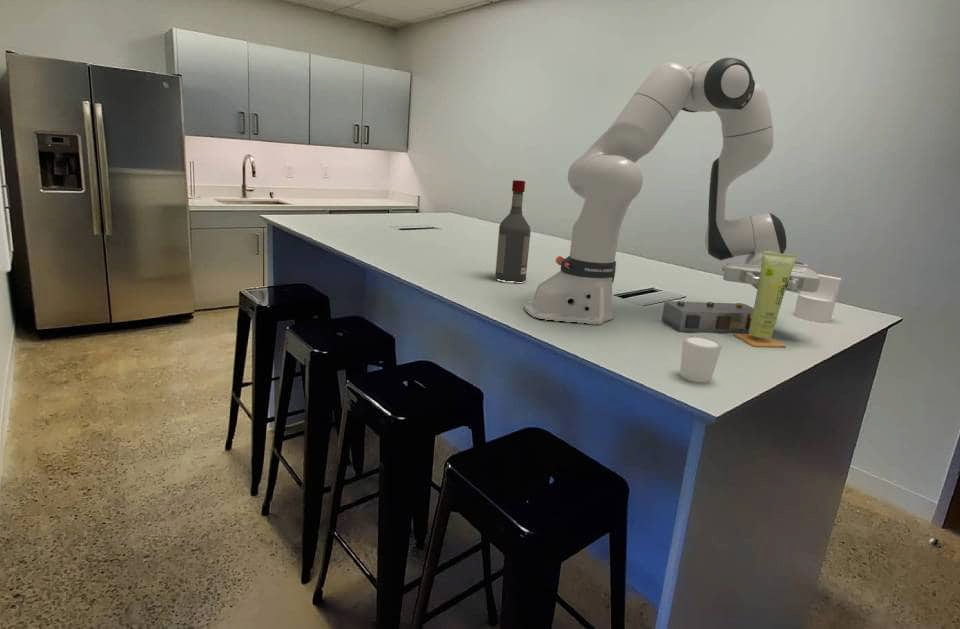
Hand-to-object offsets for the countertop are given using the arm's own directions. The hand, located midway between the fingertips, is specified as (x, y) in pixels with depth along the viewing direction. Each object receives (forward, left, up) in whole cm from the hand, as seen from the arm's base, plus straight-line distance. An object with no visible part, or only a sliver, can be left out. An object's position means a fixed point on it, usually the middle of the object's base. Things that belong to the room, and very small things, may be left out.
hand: (773, 283), depth 126 cm
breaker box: (-6, +11, -14) cm, 19 cm away
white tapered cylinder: (-28, -20, -14) cm, 37 cm away
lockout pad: (0, +1, -14) cm, 14 cm away
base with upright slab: (+31, +22, -14) cm, 41 cm away
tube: (0, +1, -13) cm, 13 cm away
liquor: (-48, +55, -14) cm, 74 cm away
